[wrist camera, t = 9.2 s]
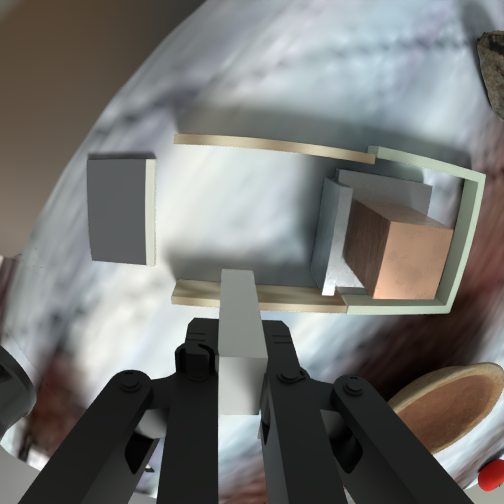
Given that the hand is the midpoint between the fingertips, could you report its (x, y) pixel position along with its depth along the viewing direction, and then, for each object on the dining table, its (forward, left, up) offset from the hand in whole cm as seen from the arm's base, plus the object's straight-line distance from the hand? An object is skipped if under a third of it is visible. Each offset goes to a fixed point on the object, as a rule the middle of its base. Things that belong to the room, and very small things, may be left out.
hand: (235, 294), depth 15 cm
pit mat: (-11, 0, -14) cm, 18 cm away
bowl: (+29, -24, -14) cm, 40 cm away
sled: (+13, 0, -14) cm, 19 cm away
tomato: (+84, -71, -14) cm, 111 cm away
